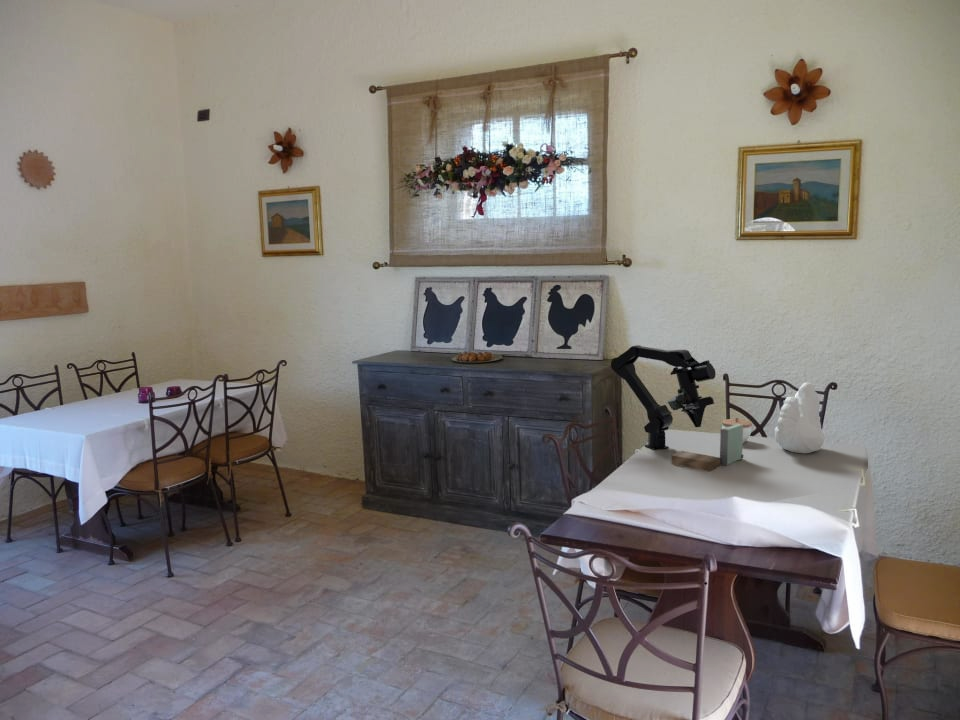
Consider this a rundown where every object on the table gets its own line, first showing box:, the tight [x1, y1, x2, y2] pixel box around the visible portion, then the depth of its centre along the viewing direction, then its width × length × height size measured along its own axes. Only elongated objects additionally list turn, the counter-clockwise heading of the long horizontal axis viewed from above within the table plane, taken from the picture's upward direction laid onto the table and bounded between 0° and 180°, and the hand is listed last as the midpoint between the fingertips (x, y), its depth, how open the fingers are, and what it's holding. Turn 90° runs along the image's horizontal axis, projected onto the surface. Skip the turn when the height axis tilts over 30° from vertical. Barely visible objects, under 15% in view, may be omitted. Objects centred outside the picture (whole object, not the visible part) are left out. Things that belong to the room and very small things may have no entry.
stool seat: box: [670, 450, 721, 472], centre depth 242 cm, size 14×8×3 cm, turn 46°
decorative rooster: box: [774, 381, 825, 454], centre depth 255 cm, size 25×16×25 cm, turn 120°
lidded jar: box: [721, 417, 753, 444], centre depth 272 cm, size 11×11×9 cm
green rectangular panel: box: [719, 424, 744, 466], centre depth 244 cm, size 13×2×12 cm, turn 134°
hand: (698, 427), depth 254 cm, fingers closed
